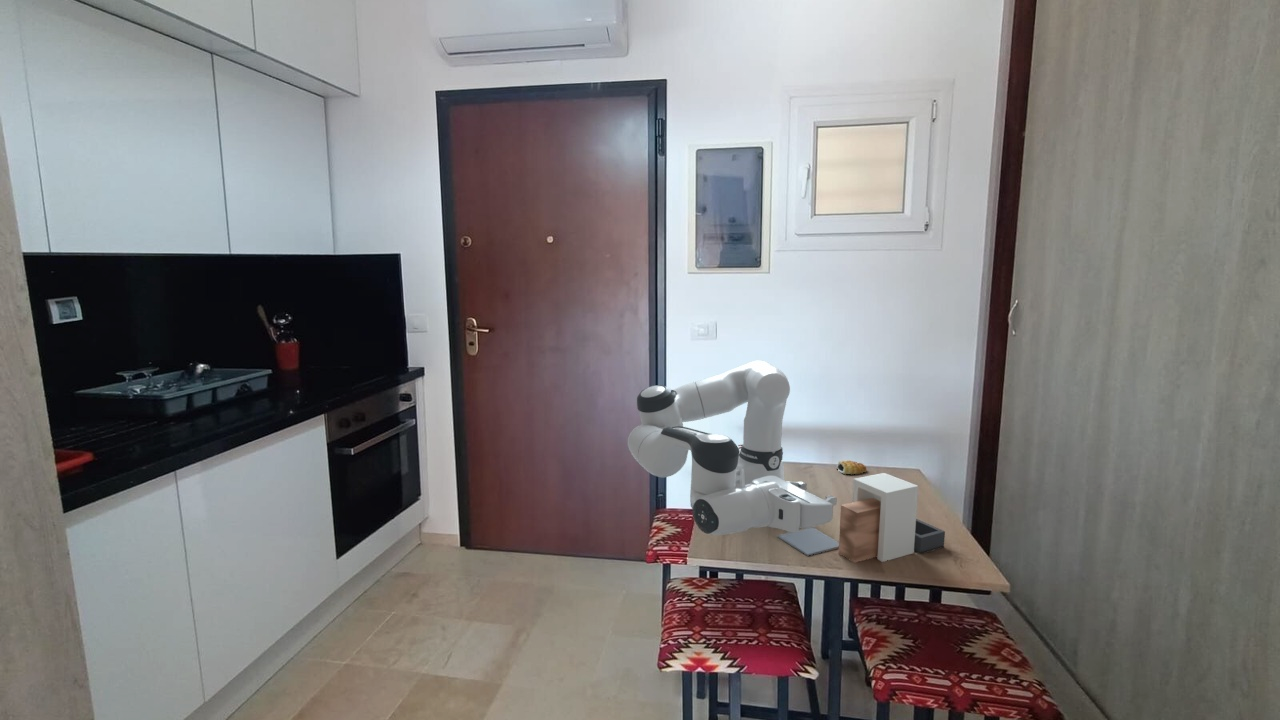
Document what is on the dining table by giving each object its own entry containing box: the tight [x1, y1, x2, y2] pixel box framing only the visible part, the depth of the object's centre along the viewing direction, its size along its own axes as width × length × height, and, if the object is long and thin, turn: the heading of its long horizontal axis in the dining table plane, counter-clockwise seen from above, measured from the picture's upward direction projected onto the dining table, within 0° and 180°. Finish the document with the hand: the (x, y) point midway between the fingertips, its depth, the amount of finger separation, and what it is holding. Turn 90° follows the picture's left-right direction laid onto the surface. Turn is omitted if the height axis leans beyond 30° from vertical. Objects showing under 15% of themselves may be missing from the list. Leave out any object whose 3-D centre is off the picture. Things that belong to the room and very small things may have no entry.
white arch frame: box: [851, 472, 919, 563], centre depth 141 cm, size 10×10×16 cm
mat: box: [777, 527, 839, 557], centre depth 145 cm, size 11×11×1 cm
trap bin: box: [914, 518, 946, 555], centre depth 146 cm, size 12×8×4 cm, turn 25°
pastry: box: [835, 460, 867, 475], centre depth 196 cm, size 9×7×4 cm
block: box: [838, 498, 881, 563], centre depth 138 cm, size 5×10×12 cm, turn 115°
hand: (819, 492), depth 130 cm, fingers open, 8 cm apart
